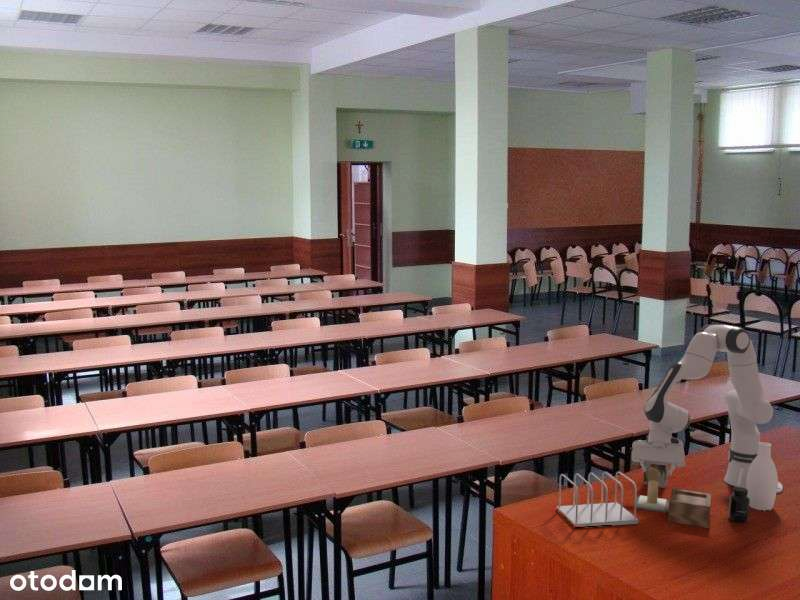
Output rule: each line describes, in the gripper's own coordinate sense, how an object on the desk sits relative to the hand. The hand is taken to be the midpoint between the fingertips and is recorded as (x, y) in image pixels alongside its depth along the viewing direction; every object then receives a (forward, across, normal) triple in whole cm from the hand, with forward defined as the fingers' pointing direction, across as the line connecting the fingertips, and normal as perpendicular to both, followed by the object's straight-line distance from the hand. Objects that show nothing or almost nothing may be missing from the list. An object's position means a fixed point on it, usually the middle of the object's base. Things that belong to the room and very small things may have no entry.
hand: (656, 473), depth 304 cm
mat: (+12, -1, +4) cm, 12 cm away
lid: (+11, -1, +4) cm, 12 cm away
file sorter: (+27, -19, -11) cm, 35 cm away
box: (+17, +13, 0) cm, 21 cm away
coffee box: (-6, -2, +22) cm, 23 cm away
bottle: (+1, +38, +17) cm, 42 cm away
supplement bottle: (+13, +30, +4) cm, 33 cm away
